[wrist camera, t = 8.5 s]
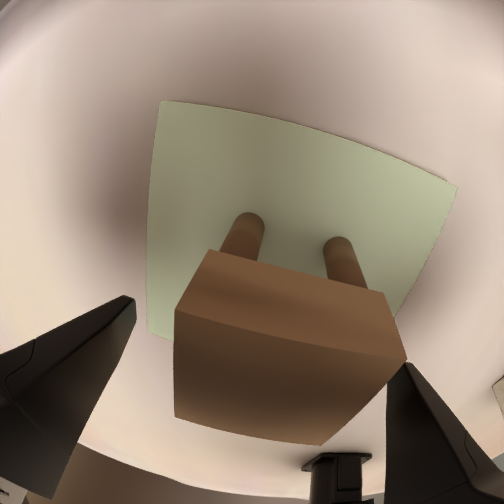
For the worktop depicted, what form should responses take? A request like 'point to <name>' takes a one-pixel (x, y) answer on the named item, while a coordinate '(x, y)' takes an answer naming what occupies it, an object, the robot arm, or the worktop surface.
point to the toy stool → (280, 342)
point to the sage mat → (281, 202)
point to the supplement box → (500, 394)
